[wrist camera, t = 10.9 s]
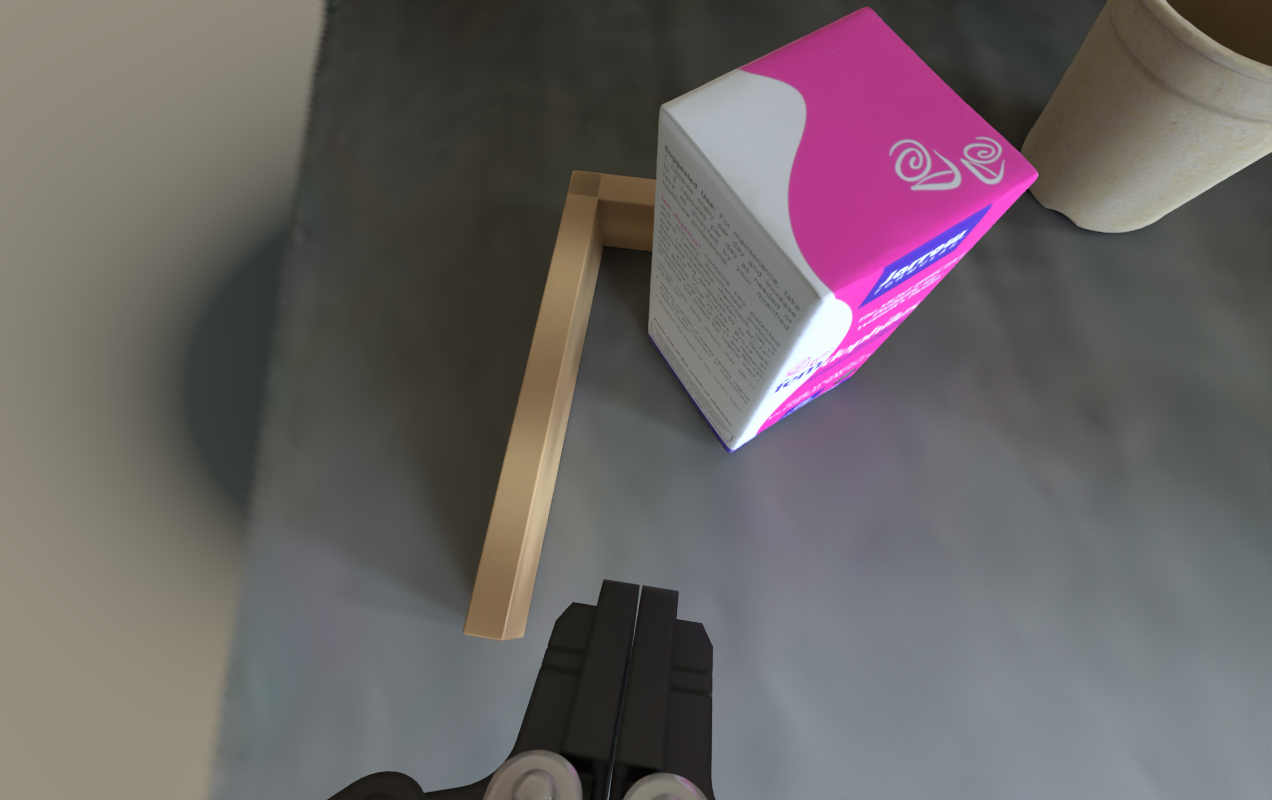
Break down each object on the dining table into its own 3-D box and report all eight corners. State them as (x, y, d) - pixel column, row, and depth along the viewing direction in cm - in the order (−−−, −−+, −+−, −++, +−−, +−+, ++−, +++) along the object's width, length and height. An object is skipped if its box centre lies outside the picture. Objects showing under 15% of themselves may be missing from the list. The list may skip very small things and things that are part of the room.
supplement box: (731, 462, 21) (817, 305, 11) (644, 336, 23) (642, 94, 12) (857, 382, 22) (1054, 165, 12) (764, 268, 24) (860, -12, 13)
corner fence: (580, 219, 25) (572, 169, 22) (838, 250, 24) (863, 202, 22) (488, 631, 20) (461, 634, 17) (818, 688, 19) (848, 700, 16)
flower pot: (1099, 64, 28) (1286, -166, 19) (1259, 211, 25) (1559, 11, 17) (935, 140, 26) (1063, -74, 18) (1083, 305, 23) (1317, 138, 15)
